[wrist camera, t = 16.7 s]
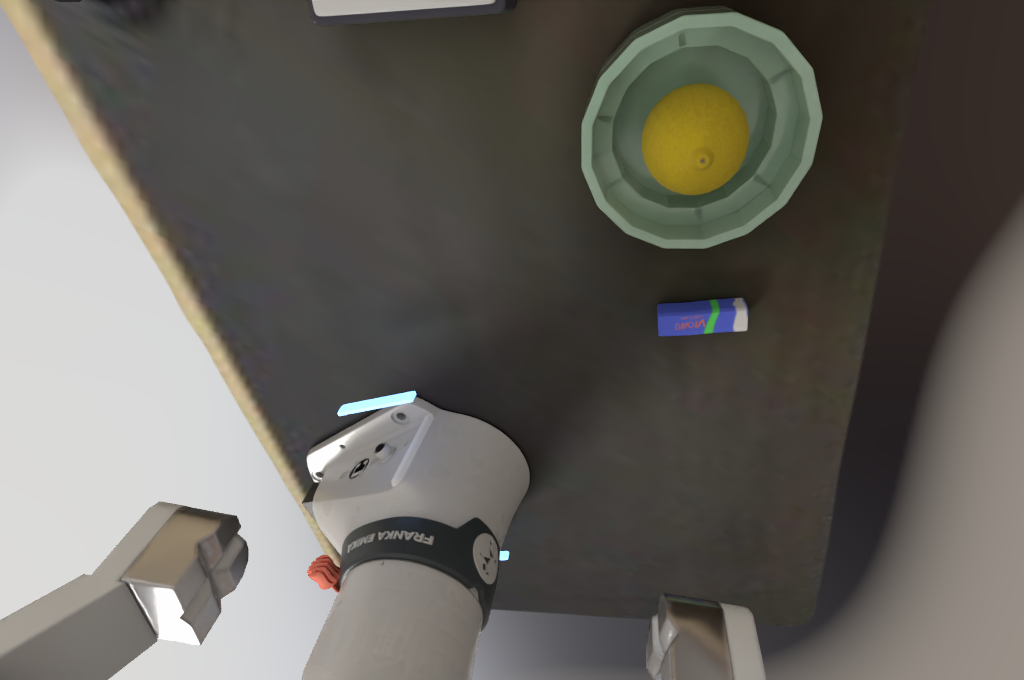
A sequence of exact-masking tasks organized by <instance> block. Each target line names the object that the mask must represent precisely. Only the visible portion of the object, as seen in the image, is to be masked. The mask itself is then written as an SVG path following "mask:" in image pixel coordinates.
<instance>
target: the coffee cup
mask: <svg viewBox="0 0 1024 680" xmlns="http://www.w3.org/2000/svg"><path fill="white" fill-rule="evenodd" d="M56 1H58V2H80V1H81V0H56Z"/></svg>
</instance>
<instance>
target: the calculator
mask: <svg viewBox="0 0 1024 680" xmlns="http://www.w3.org/2000/svg"><path fill="white" fill-rule="evenodd" d="M308 5H309V10H310V14H311V18H312V21H313V22H314V23H315V24H316V25H318V26H335V25H349V24H363V23H377V22H391V21H405V20H419V19H433V18H447V17H461V16H476V15H490V14H501V13H508V12H511V11H513V10H514V8H515V6H516V0H308Z"/></svg>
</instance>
